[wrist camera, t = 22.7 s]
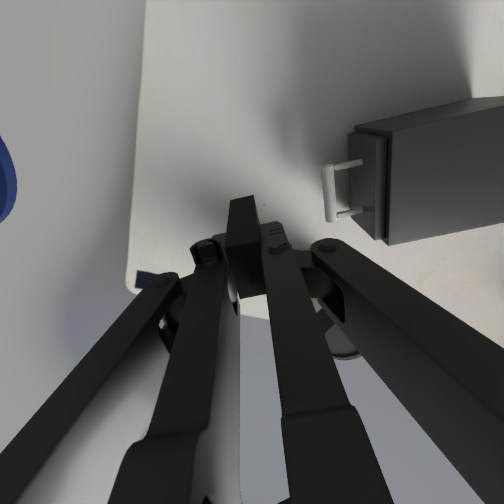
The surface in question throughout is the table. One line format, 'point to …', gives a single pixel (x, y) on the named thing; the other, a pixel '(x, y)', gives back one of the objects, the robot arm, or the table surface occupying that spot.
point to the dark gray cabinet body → (443, 169)
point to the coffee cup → (335, 336)
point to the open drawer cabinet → (361, 183)
